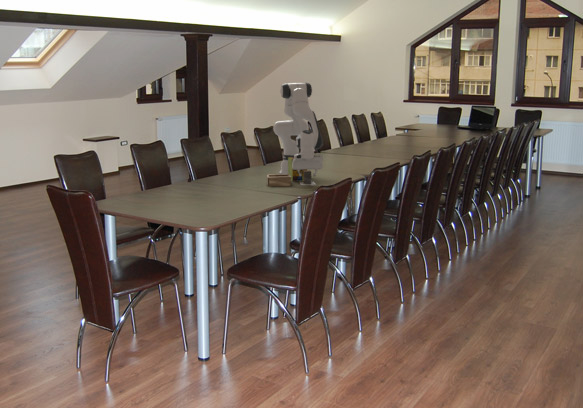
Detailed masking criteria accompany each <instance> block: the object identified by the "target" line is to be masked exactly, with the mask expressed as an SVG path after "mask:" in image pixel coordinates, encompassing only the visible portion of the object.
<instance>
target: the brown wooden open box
mask: <svg viewBox="0 0 583 408" xmlns="http://www.w3.org/2000/svg"><path fill="white" fill-rule="evenodd" d="M266 184H267V186H268V187H275V186H276V187H278V186H279V187H284V186H285V187H286V186H291V187H292V180H291V176H290V174H279V173H275V174H274V173H273V174H269V173H268V174H267V175H266Z"/></svg>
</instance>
